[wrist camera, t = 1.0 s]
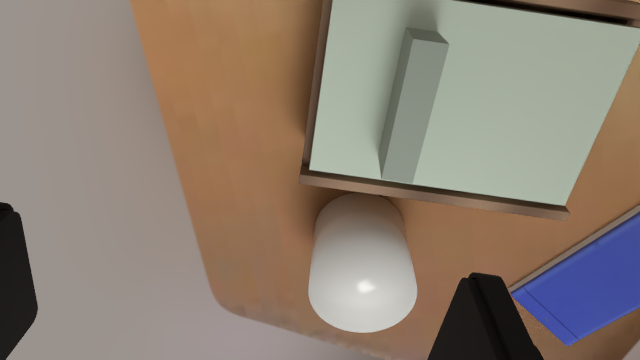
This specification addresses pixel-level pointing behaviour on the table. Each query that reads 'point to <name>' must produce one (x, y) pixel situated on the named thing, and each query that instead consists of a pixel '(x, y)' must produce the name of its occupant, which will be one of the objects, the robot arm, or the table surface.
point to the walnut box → (591, 3)
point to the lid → (466, 95)
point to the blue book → (587, 282)
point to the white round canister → (361, 264)
